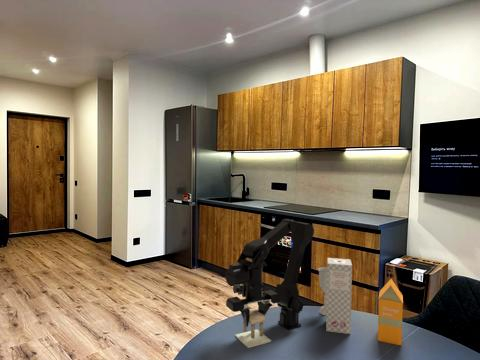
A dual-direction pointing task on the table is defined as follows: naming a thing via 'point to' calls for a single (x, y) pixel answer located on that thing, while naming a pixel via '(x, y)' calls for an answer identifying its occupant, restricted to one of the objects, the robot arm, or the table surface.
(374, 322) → the table surface
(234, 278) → the robot arm
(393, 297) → the orange juice
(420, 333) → the table surface
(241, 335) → the mat
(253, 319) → the tan block with pegs
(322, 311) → the chalice
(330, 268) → the box
